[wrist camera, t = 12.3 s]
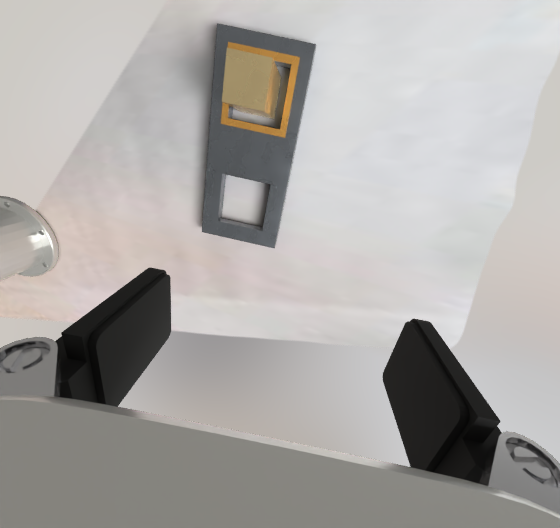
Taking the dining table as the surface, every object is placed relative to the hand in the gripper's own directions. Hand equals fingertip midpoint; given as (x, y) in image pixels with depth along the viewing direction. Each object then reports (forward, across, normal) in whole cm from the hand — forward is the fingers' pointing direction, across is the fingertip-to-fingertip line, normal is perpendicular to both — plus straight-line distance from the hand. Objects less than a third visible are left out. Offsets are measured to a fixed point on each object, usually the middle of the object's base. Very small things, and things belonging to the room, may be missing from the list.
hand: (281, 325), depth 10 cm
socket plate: (+26, +7, -5) cm, 27 cm away
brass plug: (+26, +7, -11) cm, 29 cm away
